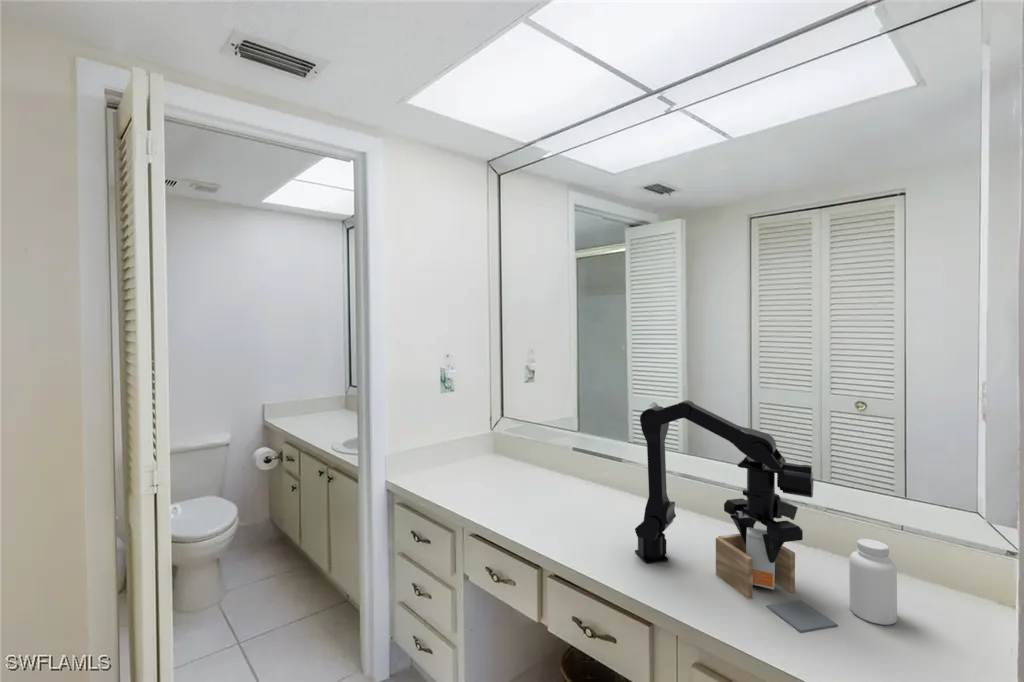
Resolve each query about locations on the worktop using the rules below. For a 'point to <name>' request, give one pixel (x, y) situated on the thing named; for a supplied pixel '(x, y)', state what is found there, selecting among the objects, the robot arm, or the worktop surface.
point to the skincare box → (760, 559)
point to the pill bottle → (873, 583)
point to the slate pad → (801, 615)
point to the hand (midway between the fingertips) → (760, 555)
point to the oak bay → (749, 565)
